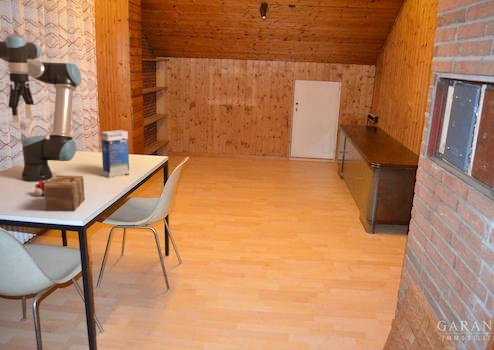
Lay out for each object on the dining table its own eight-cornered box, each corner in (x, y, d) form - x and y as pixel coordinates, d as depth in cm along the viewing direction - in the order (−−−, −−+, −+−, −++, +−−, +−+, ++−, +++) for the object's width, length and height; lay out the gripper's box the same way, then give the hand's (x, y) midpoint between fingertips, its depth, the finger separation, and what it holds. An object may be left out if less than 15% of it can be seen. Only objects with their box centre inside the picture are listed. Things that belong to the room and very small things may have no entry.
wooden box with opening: (58, 199, 200) (56, 175, 197) (84, 200, 201) (83, 175, 198) (45, 211, 185) (43, 184, 182) (74, 211, 186) (72, 185, 183)
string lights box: (123, 172, 254) (121, 129, 248) (130, 174, 249) (128, 131, 243) (102, 175, 245) (100, 131, 238) (109, 178, 240) (107, 133, 233)
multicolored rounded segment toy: (39, 192, 211) (37, 178, 209) (59, 192, 212) (58, 178, 210) (31, 197, 203) (30, 182, 201) (52, 197, 203) (51, 182, 202)
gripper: (22, 71, 199) (26, 117, 204) (-4, 72, 175) (1, 124, 180) (38, 72, 200) (42, 117, 205) (15, 73, 176) (19, 124, 181)
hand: (23, 120), depth 193 cm, fingers open, 13 cm apart
